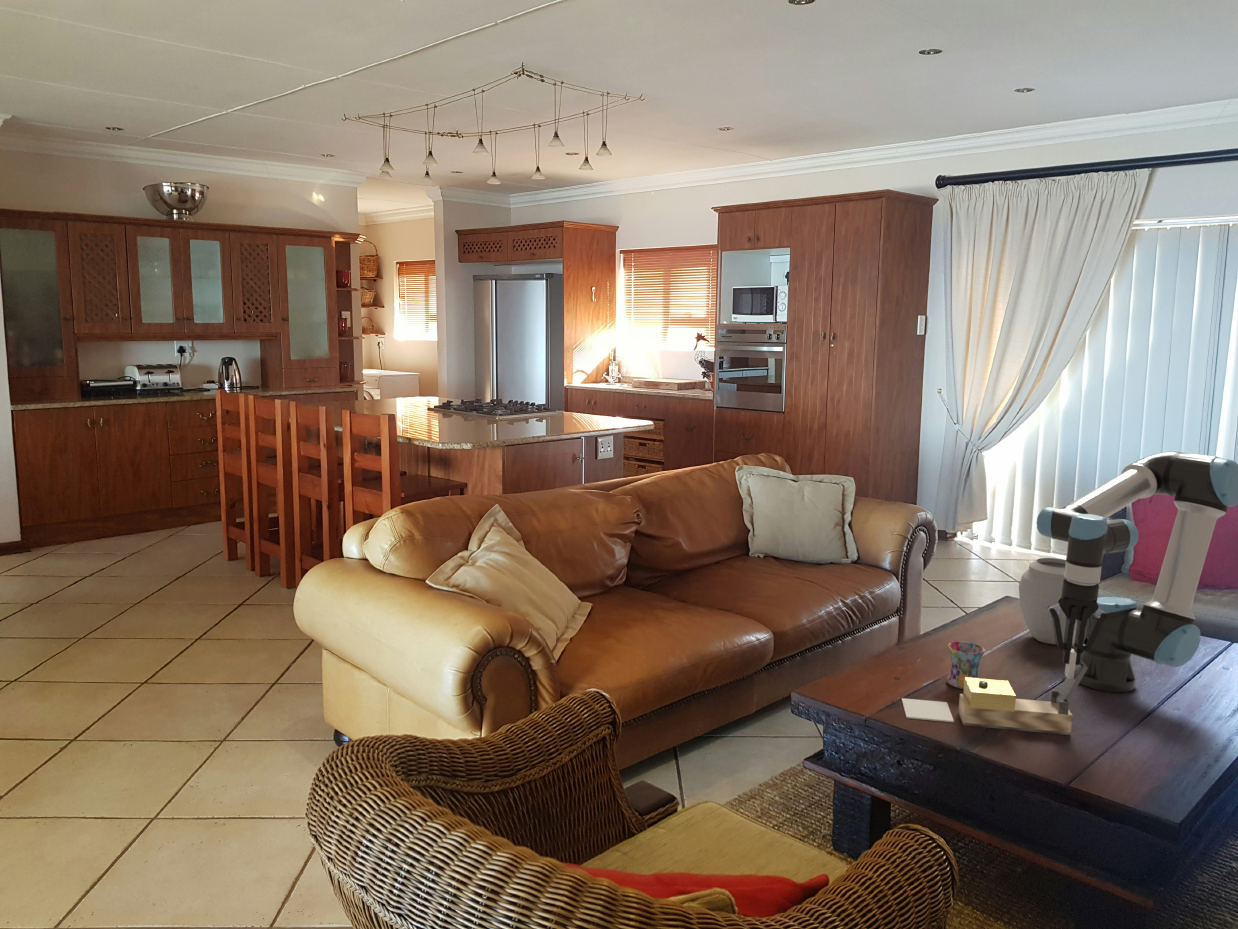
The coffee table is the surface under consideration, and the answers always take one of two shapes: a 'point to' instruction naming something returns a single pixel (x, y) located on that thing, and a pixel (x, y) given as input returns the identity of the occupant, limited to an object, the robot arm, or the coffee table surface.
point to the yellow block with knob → (989, 694)
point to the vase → (1042, 597)
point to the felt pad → (927, 710)
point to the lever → (1071, 683)
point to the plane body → (1021, 716)
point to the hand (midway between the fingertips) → (1068, 676)
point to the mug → (964, 662)
